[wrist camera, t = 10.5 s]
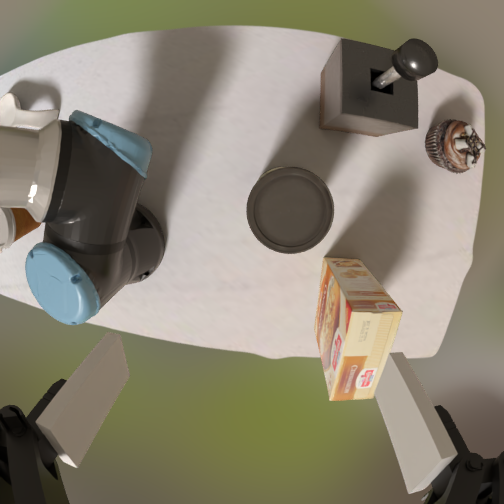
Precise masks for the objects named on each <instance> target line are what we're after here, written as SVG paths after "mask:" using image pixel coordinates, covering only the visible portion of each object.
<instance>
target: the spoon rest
mask: <svg viewBox="0 0 504 504" xmlns="http://www.w3.org/2000/svg"><path fill="white" fill-rule="evenodd" d="M58 114H59V110H57V109H55V110H42V111H30V110H22V109H21V105H20V102H19V100H18V98H17V97H16V95H14V94H13V93H10V92H9V93H6V94H5V95H4V96H3V97H2V98H1V99H0V125H2V126H11V127H17V126H28V127H35V128H40V129H41V128H43V127H44V126H45V125H47V124H48V123H50V122H51V121H52V120H54V119H57V118H58Z"/></svg>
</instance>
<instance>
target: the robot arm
mask: <svg viewBox="0 0 504 504" xmlns="http://www.w3.org/2000/svg"><path fill="white" fill-rule="evenodd" d="M151 156H152V146H151V144H150V142H149V141H148V140H147V139H145V138H144V137H141V136H139V135H137V134H135V133H133V132H130V131H128V130H126V129H123V128H121V127H119V126H116V125H114V124H111V123H109V122H106V121H104V120H101V119H99V118H96V117H94V116H92V115H89V114H87V113H84V112H81V111H79V110H75V111H74V112H73V113H72V115H70V116H69V121H64V120H58V119H54V120H52V121H51V122H50V123H48V124H47V125H45V126H44V127H43V128H41V129H39V130H34V129H26V128H19V127H11V126H2V125H0V207H6V208H25V209H27V210H28V212H29V213H30V214H31V215H32V217H33V218H34V219H35V221H36V222H46V224H45V231H44V239H43V242H41V243H38V244H36V245H35V246H34V247H33V249H32V250H31V251H30V252H29V253H28V255H27V258H26V264H25V270H26V277H27V281H28V284H29V287H30V289H31V291H32V293H33V295H34V296H35V298H36V299H37V301H38V303H39V304H40V305H41V307H42V308H43V309H44V310H45V311H46V312H47V313H48V314H49V315H51V316H52V317H53V318H55V319H56V320H58V321H60V322H62V323H65V324H69V325H77V324H81V323H83V322H85V321H87V320H88V319H90V318H91V317H93V316H95V315H96V314H97V313H98V312H99V310H100V309H101V308H102V307H103V306H104V305H105V304H106V303H107V302H108V301H109V300H110V299H111V298H112V297H113V296H114V295H115V294H116V293H117V292H118V291H119V290H120V289H122V288H123V287H124V286H125V285H127V284H133V283H137V282H140V281H143V280H144V279H146V278H148V277H149V276H150V275H151V274H152V273H153V272H154V271H155V270H156V269H157V268H158V266H159V264H160V263H161V260H162V258H163V254H164V237H163V233H162V230H161V227H160V225H159V223H158V221H157V220H156V218H155V217H154V216H153V214H152V213H151V212H150V211H149V210H147V209H146V208H145V207H143V206H142V205H140V204H137V200H138V197H139V194H140V191H141V188H142V185H143V182H144V179H146V178H147V174H146V173H147V169H148V166H149V163H150V159H151ZM129 376H130V374H129V370H128V366H127V362H126V358H125V353H124V349H123V344H122V340H121V335H120V334H115V333H110V332H107V333H106V335H105V336H104V337H103V338H102V339H101V341H100V342H99V343H98V344H97V345H96V346H95V347H94V349H93V350H92V351H91V352H90V353H89V355H88V356H87V357H86V358H85V360H84V361H83V362H82V363H81V365H79V367H78V368H77V369H76V370H75V372H74V373H73V374H72V375H71V377H70V378H69V379H68V380H64V379H60V380H59V381H57V382H56V383H54V384H53V385H52V386H51V387H50V388H49V390H48V391H47V393H46V394H45V395H44V396H43V398H42V399H41V400H40V401H39V402H38V403H37V405H36V406H35V407H34V408H33V410H32V411H31V412H30V414H29V415H28V416H27V417H25V415H24V414H23V412H22V411H21V409H20V408H19V407H17V406H15V405H8V406H5V407H3V408H2V409H0V504H70V503H69V501H68V498H67V495H66V492H65V489H64V485H63V482H62V479H61V475H60V471H59V467H58V464H57V462H56V459H55V458H56V457H57V455H59V457H60V458H61V459H62V460H63V462H65V463H67V464H69V465H72V466H74V467H76V468H78V467H79V465H80V463H81V461H82V459H83V457H84V455H85V453H86V452H87V449H88V448H89V446H90V444H91V442H92V441H93V439H94V437H95V435H96V434H97V432H98V430H99V428H100V426H101V425H102V422H103V421H104V419H105V418H106V415H107V414H108V412H109V411H110V409H111V407H112V405H113V404H114V402H115V400H116V398H117V397H118V395H119V393H120V392H121V389H122V388H123V386H124V384H125V383H126V381H127V380H128V378H129ZM374 394H375V397H376V399H377V402H378V405H379V407H380V410H381V413H382V415H383V418H384V421H385V424H386V426H387V429H388V432H389V435H390V438H391V441H392V444H393V447H394V450H395V453H396V456H397V459H398V462H399V465H400V468H401V471H402V474H403V477H404V481H405V484H406V487H407V491H408V493H409V494H410V493H414V492H417V491H420V490H424V488H426V487H427V486H428V485H429V484H430V483H431V484H432V487H433V488H432V489H431V490H430V491H429V492H428V493H426V494H425V495H424V496H423V498H422V499H421V500H424V499H425V498H426V497H427V498H426V500H425V502H424V504H504V451H503V452H502V453H501V454H500V455H499V456H498V457H497V458H491V459H483V458H482V457H481V456H480V455H478V454H477V453H470V451H469V450H468V448H467V446H466V444H465V442H464V440H463V438H462V436H461V435H460V433H459V431H458V429H457V428H456V425H455V424H454V422H453V420H452V418H451V416H450V414H449V413H448V411H447V410H445V409H444V408H443V407H442V406H441V405H439V406H435V407H434V406H433V404H432V402H431V401H430V399H429V397H428V395H427V394H426V392H425V390H424V388H423V386H422V385H421V383H420V381H419V379H418V378H417V376H416V374H415V372H414V371H413V369H412V367H411V366H410V364H409V362H408V361H407V359H406V357H405V356H404V354H403V352H398V353H389V355H388V358H387V361H386V364H385V366H384V369H383V372H382V374H381V377H380V379H379V382H378V384H377V387H376V389H375V392H374Z"/></svg>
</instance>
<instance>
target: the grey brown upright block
mask: <svg viewBox="0 0 504 504" xmlns="http://www.w3.org/2000/svg"><path fill="white" fill-rule="evenodd" d="M393 52H394V50H390V49H387V48H383V47H379V46H375V45H371V44H367V43H362V42H357V41H353V40H347V39H342V38H341V40H340V42H339V43H338V45H337V47H336V48H335V50H334V52H333V53H332V55H331V57H330V58H329V60H328V62H327V64H326V65H325V67H324V69H323V70H322V72H321V93H320V124H319V128H320V129H328V130H336V131H343V132H350V133H356V134H363V135H368V136H374V137H378V136H383V135H387V134H392V133H397V132H402V131H407V130H412V129H417V128H418V87H417V81H409V80H406V79H404V78H403V77H400V78H398V79H397V80H395V81H393V82H392V83H390V84H389V85H387V86H385V87H384V88H382V89H380V90H379V91H378V92H377V91H372V90H371V82H372V81H374V80H375V79H376V78H378V77H379V76H380V75H382V74H383V73H384V72H386V71H387V70H389V69H390V68H391V67H393V65H392V54H393Z"/></svg>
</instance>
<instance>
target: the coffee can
mask: <svg viewBox="0 0 504 504" xmlns="http://www.w3.org/2000/svg"><path fill="white" fill-rule="evenodd" d="M333 217H334V203H333V199H332V196H331V193H330V191H329V189H328V187H327V186H326V184H325V183H324V182H323V181H322V180H321V179H320V178H319V177H318V176H317V175H315V174H314V173H312V172H310V171H308V170H305V169H302V168H297V167H277V168H274V169H271V170H269V171H267V172H266V173H264V174H263V175H262V176H261V177H260V178H259V180H258V181H257V183H256V184H255V185H254V187H253V188H252V190H251V192H250V195H249V198H248V202H247V219H248V223H249V226H250V229H251V230H252V232H253V234H254V235H255V237H256V238H257V239H258V240H259V241H260V242H261V243H262V244H263V245H265V246H266V247H268V248H269V249H271V250H274V251H276V252H280V253H285V254H295V253H301V252H304V251H307V250H309V249H311V248H313V247H314V246H316V245H317V244H318V243H320V242H321V241H322V240H323V239H324V237H325V236H326V235H327V233H328V231H329V230H330V227H331V225H332V222H333Z"/></svg>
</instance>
